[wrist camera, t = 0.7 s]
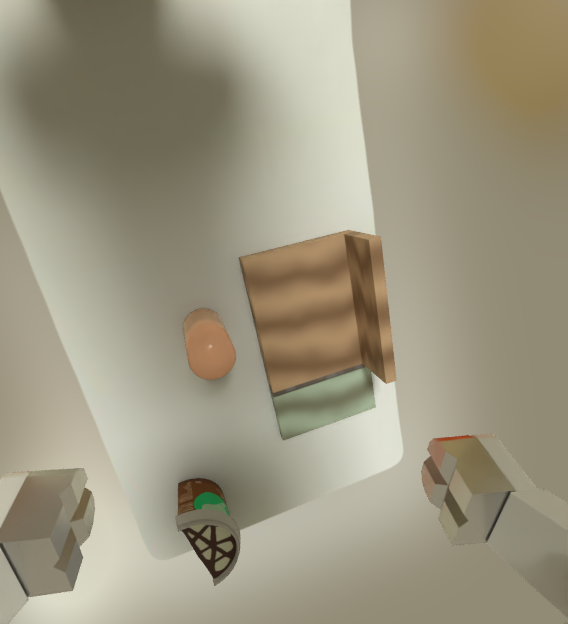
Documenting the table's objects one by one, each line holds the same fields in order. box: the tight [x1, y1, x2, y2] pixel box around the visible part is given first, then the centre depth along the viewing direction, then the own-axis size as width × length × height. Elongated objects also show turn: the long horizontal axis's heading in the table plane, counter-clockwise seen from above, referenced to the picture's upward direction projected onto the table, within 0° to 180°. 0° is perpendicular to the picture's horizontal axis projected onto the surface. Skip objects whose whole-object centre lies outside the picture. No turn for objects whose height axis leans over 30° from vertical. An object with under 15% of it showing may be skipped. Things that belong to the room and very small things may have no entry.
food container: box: [176, 478, 240, 586], centre depth 57 cm, size 12×6×10 cm, turn 21°
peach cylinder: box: [183, 308, 236, 380], centre depth 49 cm, size 5×5×11 cm
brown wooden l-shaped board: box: [239, 230, 396, 440], centre depth 55 cm, size 29×16×9 cm, turn 11°
